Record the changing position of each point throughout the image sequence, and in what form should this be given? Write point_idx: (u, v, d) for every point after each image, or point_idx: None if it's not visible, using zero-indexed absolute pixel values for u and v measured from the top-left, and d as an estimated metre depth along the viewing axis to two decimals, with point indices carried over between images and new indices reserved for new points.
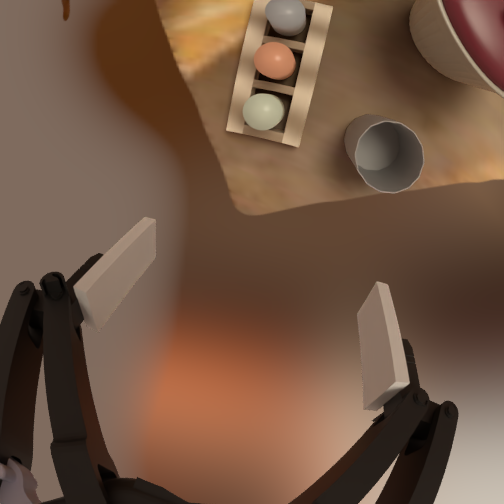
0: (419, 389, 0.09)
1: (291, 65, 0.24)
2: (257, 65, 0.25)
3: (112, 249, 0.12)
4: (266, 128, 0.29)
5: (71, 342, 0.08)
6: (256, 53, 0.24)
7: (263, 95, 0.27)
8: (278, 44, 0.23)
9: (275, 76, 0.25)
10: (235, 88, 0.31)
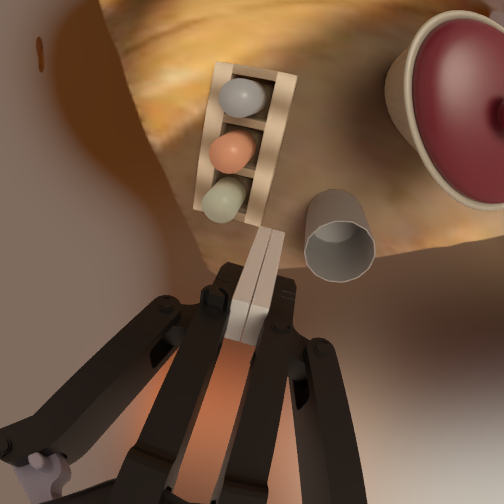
0: (274, 317, 0.11)
1: (245, 161, 0.29)
2: (212, 160, 0.29)
3: (250, 258, 0.14)
4: (224, 221, 0.33)
5: (210, 364, 0.09)
6: (211, 148, 0.29)
7: (219, 191, 0.31)
8: (232, 138, 0.28)
9: (230, 172, 0.30)
10: (198, 169, 0.36)
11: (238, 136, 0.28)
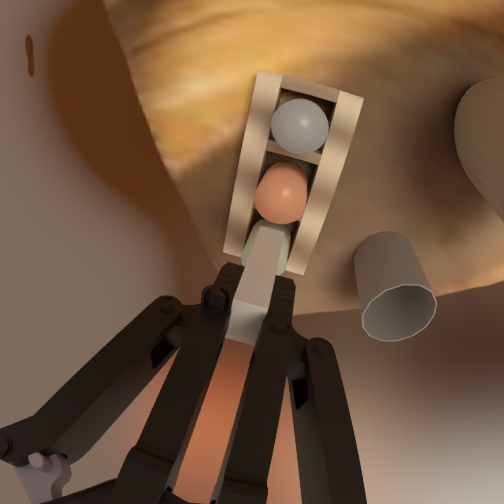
0: (273, 317, 0.11)
1: (302, 210, 0.23)
2: (259, 207, 0.24)
3: (251, 259, 0.14)
4: None
5: (210, 365, 0.09)
6: (258, 190, 0.23)
7: None
8: (287, 180, 0.22)
9: (281, 222, 0.24)
10: (232, 207, 0.30)
11: (293, 176, 0.22)
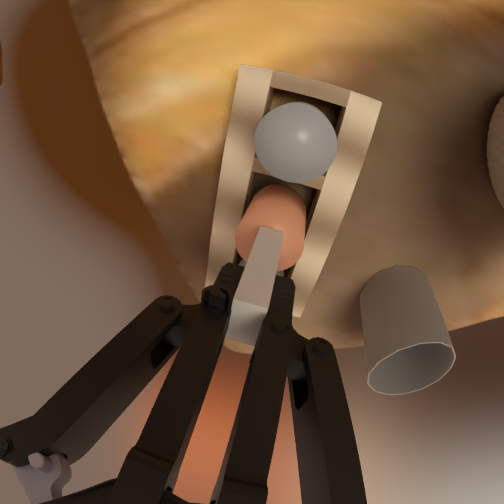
0: (273, 317, 0.11)
1: (298, 255, 0.17)
2: (241, 250, 0.18)
3: (251, 259, 0.14)
4: None
5: (210, 365, 0.09)
6: (239, 230, 0.17)
7: None
8: (278, 217, 0.16)
9: None
10: (212, 241, 0.24)
11: (287, 210, 0.17)
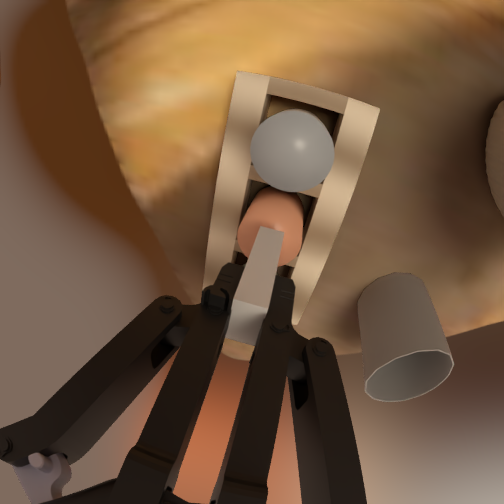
0: (273, 317, 0.11)
1: (296, 251, 0.19)
2: (243, 246, 0.19)
3: (251, 259, 0.14)
4: None
5: (210, 365, 0.09)
6: (241, 227, 0.18)
7: None
8: (278, 215, 0.17)
9: None
10: (209, 249, 0.24)
11: (286, 209, 0.18)
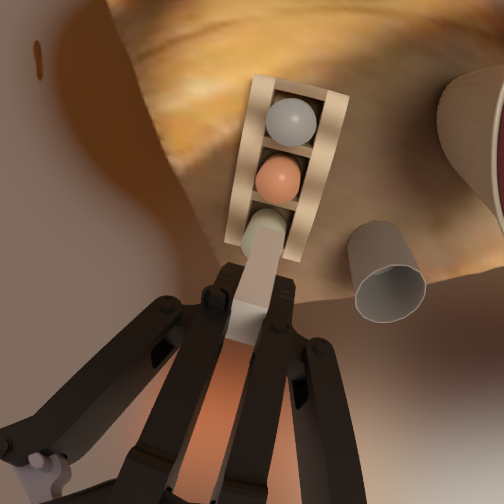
0: (273, 317, 0.11)
1: (296, 191, 0.27)
2: (259, 189, 0.27)
3: (251, 259, 0.14)
4: None
5: (210, 365, 0.09)
6: (258, 175, 0.27)
7: None
8: (283, 165, 0.26)
9: (278, 202, 0.28)
10: (232, 199, 0.32)
11: (288, 163, 0.26)
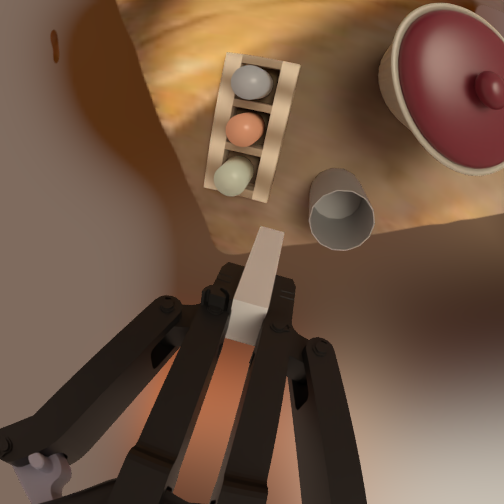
0: (273, 317, 0.11)
1: (257, 136, 0.33)
2: (228, 136, 0.33)
3: (251, 259, 0.14)
4: (234, 194, 0.36)
5: (210, 365, 0.09)
6: (227, 124, 0.32)
7: (230, 166, 0.34)
8: (246, 116, 0.31)
9: (244, 145, 0.34)
10: (210, 149, 0.38)
11: (251, 115, 0.32)
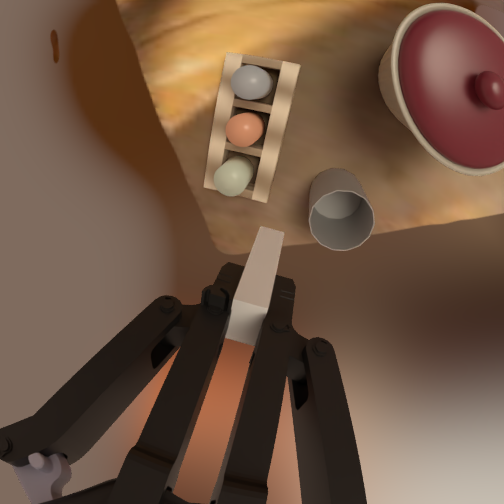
0: (273, 317, 0.11)
1: (257, 136, 0.33)
2: (228, 136, 0.33)
3: (251, 259, 0.14)
4: (234, 194, 0.36)
5: (210, 365, 0.09)
6: (227, 124, 0.32)
7: (230, 166, 0.34)
8: (246, 116, 0.31)
9: (244, 145, 0.34)
10: (210, 149, 0.38)
11: (251, 115, 0.32)
